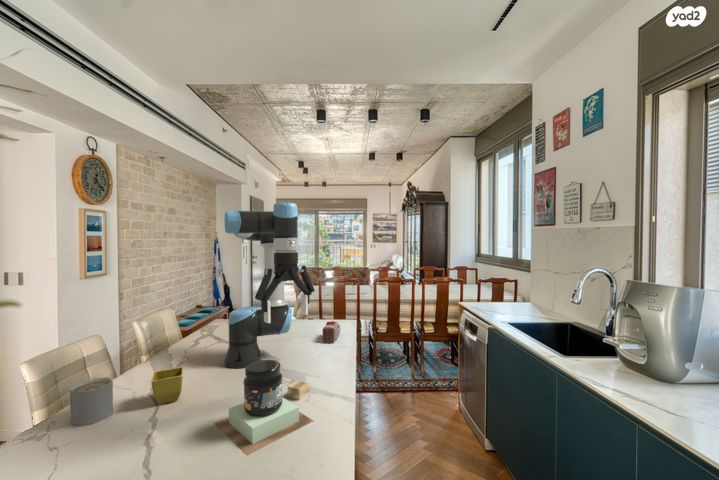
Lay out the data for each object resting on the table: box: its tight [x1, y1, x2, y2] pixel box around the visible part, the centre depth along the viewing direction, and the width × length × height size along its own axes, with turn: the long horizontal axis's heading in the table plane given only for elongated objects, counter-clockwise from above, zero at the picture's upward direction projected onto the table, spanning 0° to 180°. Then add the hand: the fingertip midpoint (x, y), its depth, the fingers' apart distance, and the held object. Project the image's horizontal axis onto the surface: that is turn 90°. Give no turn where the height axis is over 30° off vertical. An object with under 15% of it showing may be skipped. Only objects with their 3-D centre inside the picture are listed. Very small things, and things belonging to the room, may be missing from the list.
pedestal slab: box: [228, 396, 300, 444], centre depth 91 cm, size 14×14×4 cm
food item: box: [321, 320, 341, 344], centre depth 171 cm, size 14×8×10 cm, turn 174°
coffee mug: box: [69, 376, 114, 427], centre depth 100 cm, size 13×10×10 cm
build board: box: [213, 411, 314, 456], centre depth 91 cm, size 20×20×2 cm
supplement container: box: [243, 359, 283, 416], centre depth 91 cm, size 10×10×12 cm
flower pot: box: [150, 366, 184, 405], centre depth 108 cm, size 9×9×9 cm
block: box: [287, 380, 310, 401], centre depth 107 cm, size 5×5×5 cm
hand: (286, 318), depth 103 cm, fingers open, 13 cm apart
